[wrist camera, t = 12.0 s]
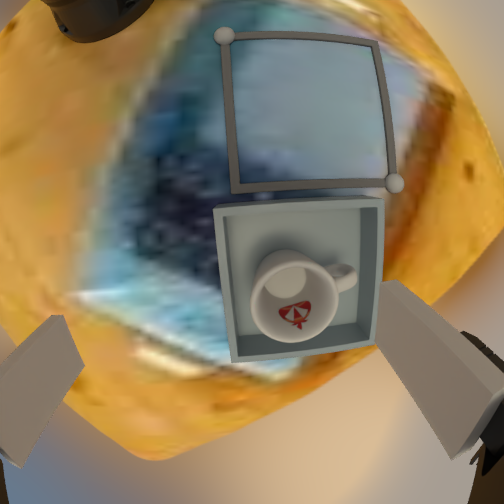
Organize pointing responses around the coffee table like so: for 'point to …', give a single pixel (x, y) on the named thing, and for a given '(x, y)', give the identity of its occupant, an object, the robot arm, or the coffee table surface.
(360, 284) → the bin
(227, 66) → the square tray frame
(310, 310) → the cup
